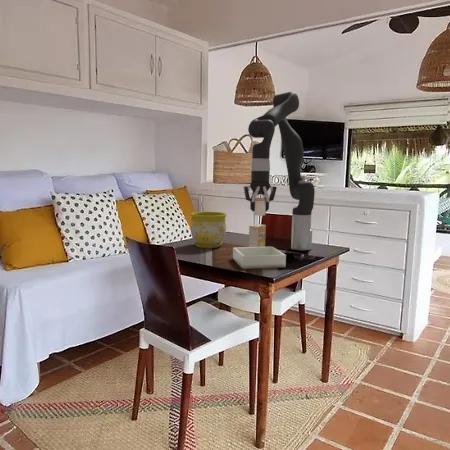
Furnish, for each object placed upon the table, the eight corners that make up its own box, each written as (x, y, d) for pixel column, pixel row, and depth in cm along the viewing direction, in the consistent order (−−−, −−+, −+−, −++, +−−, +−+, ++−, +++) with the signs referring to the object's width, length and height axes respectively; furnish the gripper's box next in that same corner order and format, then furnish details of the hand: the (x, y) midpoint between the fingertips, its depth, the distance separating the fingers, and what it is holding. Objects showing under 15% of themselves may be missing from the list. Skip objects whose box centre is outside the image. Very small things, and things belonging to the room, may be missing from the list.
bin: (272, 257, 191) (272, 246, 190) (285, 267, 173) (285, 255, 173) (232, 258, 187) (233, 247, 187) (242, 268, 170) (242, 256, 169)
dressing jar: (263, 214, 180) (263, 197, 179) (266, 215, 176) (267, 198, 175) (252, 214, 180) (252, 197, 179) (255, 215, 175) (255, 198, 174)
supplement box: (257, 254, 196) (258, 226, 194) (248, 253, 199) (248, 225, 197) (265, 251, 203) (266, 224, 201) (256, 250, 206) (257, 223, 204)
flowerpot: (229, 248, 210) (230, 215, 207) (193, 249, 206) (193, 216, 203) (221, 241, 227) (221, 211, 225) (187, 242, 223) (187, 211, 220)
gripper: (274, 169, 180) (273, 210, 182) (241, 169, 177) (240, 210, 180) (280, 170, 173) (278, 212, 175) (245, 169, 170) (244, 212, 172)
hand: (259, 210), depth 177 cm, fingers closed on dressing jar, 5 cm apart
